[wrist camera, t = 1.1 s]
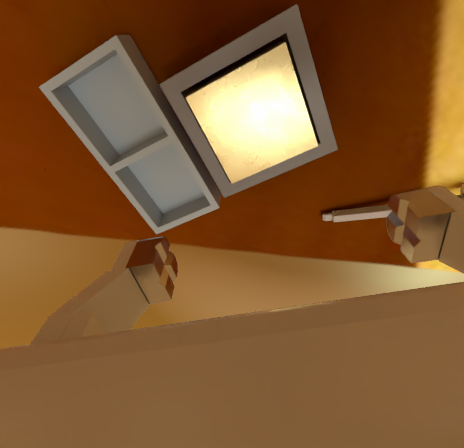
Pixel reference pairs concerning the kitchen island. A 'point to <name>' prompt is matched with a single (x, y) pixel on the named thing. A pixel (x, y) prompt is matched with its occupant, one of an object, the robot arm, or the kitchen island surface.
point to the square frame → (277, 26)
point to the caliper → (365, 212)
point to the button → (254, 113)
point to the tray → (134, 133)
